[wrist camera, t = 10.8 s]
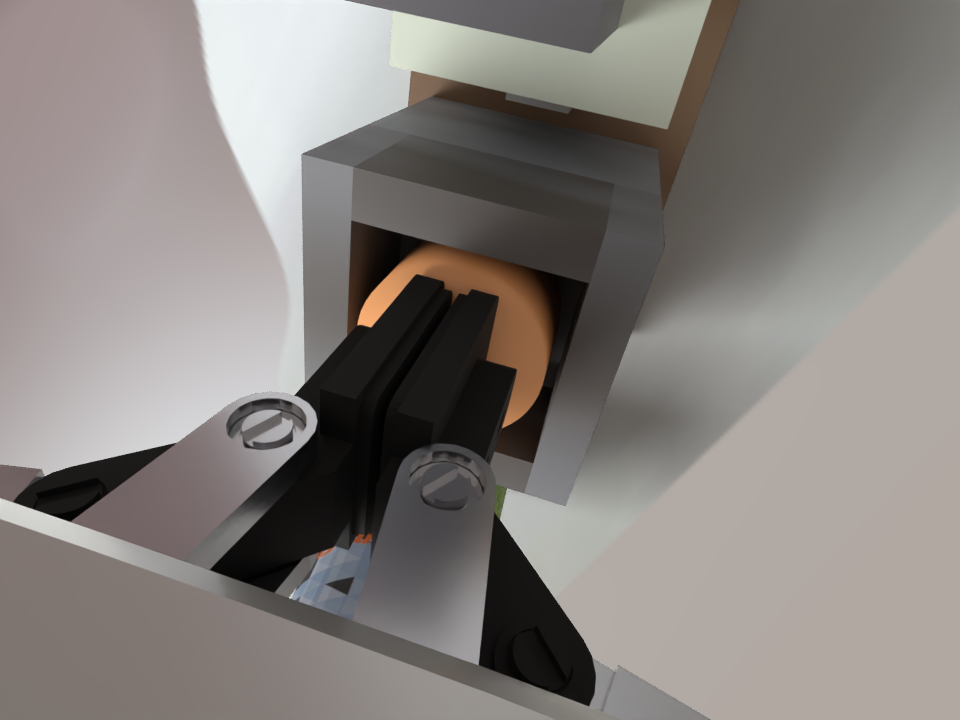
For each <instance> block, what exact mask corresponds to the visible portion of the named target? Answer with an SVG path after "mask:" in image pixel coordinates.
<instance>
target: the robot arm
mask: <svg viewBox="0 0 960 720" xmlns="http://www.w3.org/2000/svg"><path fill="white" fill-rule="evenodd" d="M444 288H445V283H444V281H441V280H437V279H434V278H430V277H426V276H423V275H419V274H416V275H415V276H414V277H413V278H412V279H411V280H410V282H409V283H408V284H407V285H406V286H405V288H404V289H403V290H402V291H401V292H400V294H399V295H398V296H397V297H396V298H395V300H394V301H393V302H392V303H391V304H390V306H389V307H388V308H387V309H386V310H385V312H384V313H383V314H382V315H381V316H380V318H379V319H378V320H377V321H376V322H375V323H374V325H373V326H372V327H368V326H364V325H358V326H356V327H355V328H354V329H353V330H352V331H351V332H350V333H349V335H348V336H347V337H346V338H345V339H344V340H343V341H342V342H341V344H340V345H339V346H338V347H337V348H336V349H335V350H334V351H333V353H332V354H331V355H330V356H329V357H328V358H327V359H326V360H325V362H324V363H323V364H322V365H321V366H320V367H319V368H318V370H317V371H316V372H315V373H314V374H313V375H312V376H311V377H310V379H309V380H308V381H307V382H306V383H305V384H304V385H303V386H302V388H301V389H300V390H299V391H298V392H297V393H296V394H295V395H294V396H293V395H290V394H287V393H279V392H265V393H255V394H252V395H249V396H246V397H243V398H240V399H238V400H236V401H235V402H233V403H231V404H229V405H228V406H227V407H225V408H224V409H222V410H221V411H220V412H218V413H217V414H216V415H214V416H213V417H212V418H210V419H209V420H208V421H206V422H205V423H204V424H202V425H201V426H199V427H198V428H197V429H196V430H194V431H193V432H191V433H190V434H189V435H187V436H186V437H185V438H183V439H182V440H181V441H179V442H178V443H174V444H169V445H165V446H161V447H156V448H152V449H148V450H143V451H139V452H134V453H130V454H125V455H121V456H117V457H113V458H108V459H104V460H99V461H95V462H90V463H86V464H81V465H77V466H73V467H69V468H66V469H63V470H60V471H57V472H53V473H51V474H49V475H47V476H44V474H43V471H42V469H34V468H26V467H17V466H9V465H0V720H710V719H709V718H707V717H705V716H704V715H701V714H700V713H699V712H697V711H695V710H693V709H692V708H690V707H688V706H687V705H685V704H683V703H682V702H680V701H678V700H677V699H675V698H673V697H671V696H670V695H668V694H666V693H665V692H663V691H661V690H660V689H658V688H656V687H655V686H653V685H651V684H649V683H648V682H646V681H644V680H643V679H641V678H639V677H638V676H636V675H634V674H632V673H631V672H629V671H628V670H626V669H624V668H622V667H621V666H619V665H618V667H617V668H616V670H615V671H613V670H611V669H609V668H608V667H606V666H604V665H603V664H601V663H599V662H598V661H596V660H594V659H593V658H592V655H591V653H590V652H589V650H588V648H587V646H586V644H585V642H584V640H583V639H582V637H581V636H580V634H579V633H578V631H577V630H576V629H575V627H574V626H573V624H572V623H571V621H570V620H569V618H568V617H567V616H566V614H565V613H564V611H563V610H562V608H561V607H560V605H559V604H558V603H557V601H556V600H555V598H554V597H553V595H552V594H551V592H550V591H549V590H548V588H547V587H546V585H545V584H544V582H543V581H542V580H541V578H540V577H539V575H538V574H537V572H536V571H535V570H534V568H533V567H532V565H531V564H530V562H529V561H528V559H527V558H526V557H525V555H524V554H523V552H522V551H521V549H520V548H519V547H518V545H517V544H516V542H515V541H514V539H513V538H512V537H511V535H510V534H509V532H508V531H507V529H506V528H505V526H504V525H503V524H502V522H501V521H500V519H499V518H498V516H497V515H496V514H495V512H494V508H495V498H496V489H497V488H496V478H495V475H494V473H493V471H492V469H491V467H490V463H491V460H492V457H493V454H494V451H495V448H496V445H497V442H498V439H499V436H500V433H501V430H502V427H503V423H504V420H505V417H506V413H507V409H508V406H509V402H510V398H511V394H512V390H513V386H514V382H515V378H516V374H517V369H515V368H511V367H508V366H504V365H501V364H497V363H494V362H490V361H487V360H486V358H487V354H488V349H489V344H490V340H491V335H492V330H493V326H494V321H495V316H496V311H497V307H498V302H499V296H496V295H493V294H489V293H485V292H482V291H478V290H474V289H471V290H470V292H469V294H468V295H465V294H461V293H459V294H458V296H457V297H456V299H455V300H454V302H453V304H452V305H451V303H452V296H453V294H452V291H450V290H447V289H444ZM372 526H373V529H372V541H371V553H370V564H369V567H368V571H367V574H366V577H365V580H364V584H363V587H362V590H361V594H360V597H359V600H358V603H357V607H356V610H355V613H354V617H353V620H349V619H346V618H344V617H341V616H338V615H335V614H332V613H330V612H327V611H324V610H321V609H318V608H316V607H313V606H310V605H307V604H304V603H301V602H298V601H296V600H293V599H290V598H289V597H290V595H291V594H292V593H293V591H294V590H295V589H296V588H297V587H298V585H299V584H300V583H301V582H302V580H303V579H304V578H305V577H306V575H307V574H308V573H309V572H310V570H311V568H312V567H313V565H314V563H315V561H316V558H317V553H319V552H322V551H325V550H328V549H330V548H333V547H334V546H337V547H340V548H343V549H346V550H349V549H350V547H351V545H352V543H353V541H354V540H355V538H356V536H357V534H362V535H365V536H366V535H368V533H369V532H370V530H371V528H372Z"/></svg>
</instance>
